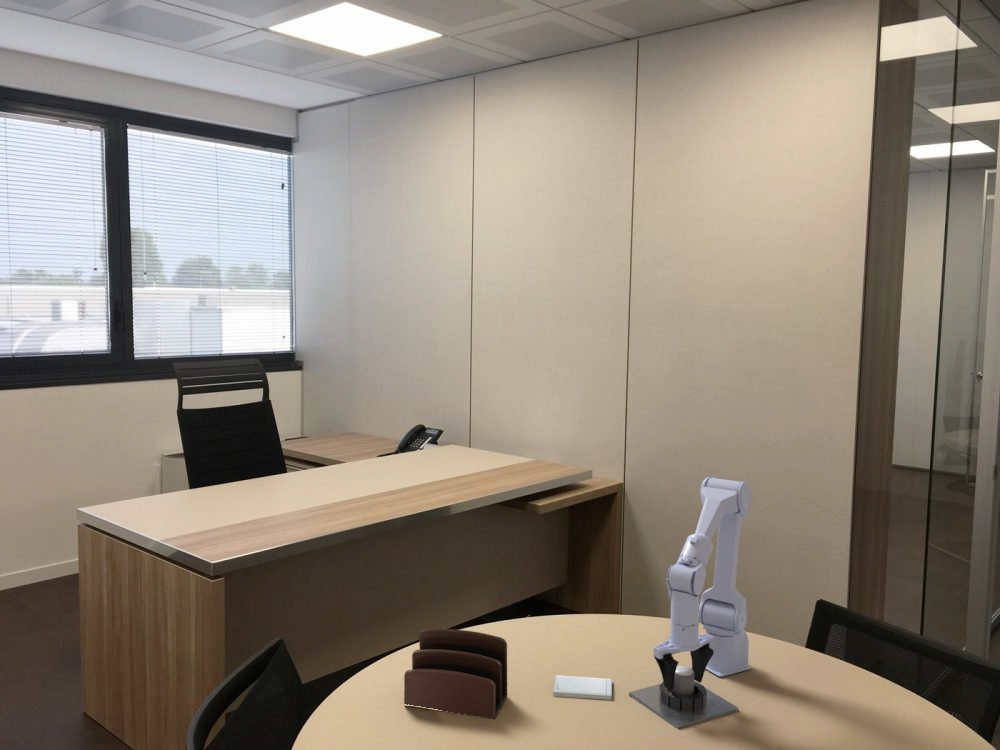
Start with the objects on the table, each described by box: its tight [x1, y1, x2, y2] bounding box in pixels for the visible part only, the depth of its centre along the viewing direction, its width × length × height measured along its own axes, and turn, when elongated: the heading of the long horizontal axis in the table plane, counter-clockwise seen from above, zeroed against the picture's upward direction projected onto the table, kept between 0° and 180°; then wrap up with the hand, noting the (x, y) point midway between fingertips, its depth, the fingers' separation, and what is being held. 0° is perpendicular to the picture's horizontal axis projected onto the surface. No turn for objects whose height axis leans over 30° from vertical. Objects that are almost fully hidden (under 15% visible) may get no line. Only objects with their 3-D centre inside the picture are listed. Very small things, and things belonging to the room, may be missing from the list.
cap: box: [670, 665, 695, 696], centre depth 174 cm, size 5×5×6 cm
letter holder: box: [403, 628, 508, 720], centre depth 174 cm, size 10×20×14 cm, turn 75°
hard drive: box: [552, 674, 613, 701], centre depth 180 cm, size 2×8×12 cm
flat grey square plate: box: [628, 680, 740, 730], centre depth 174 cm, size 16×16×3 cm
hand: (683, 684), depth 174 cm, fingers open, 7 cm apart
